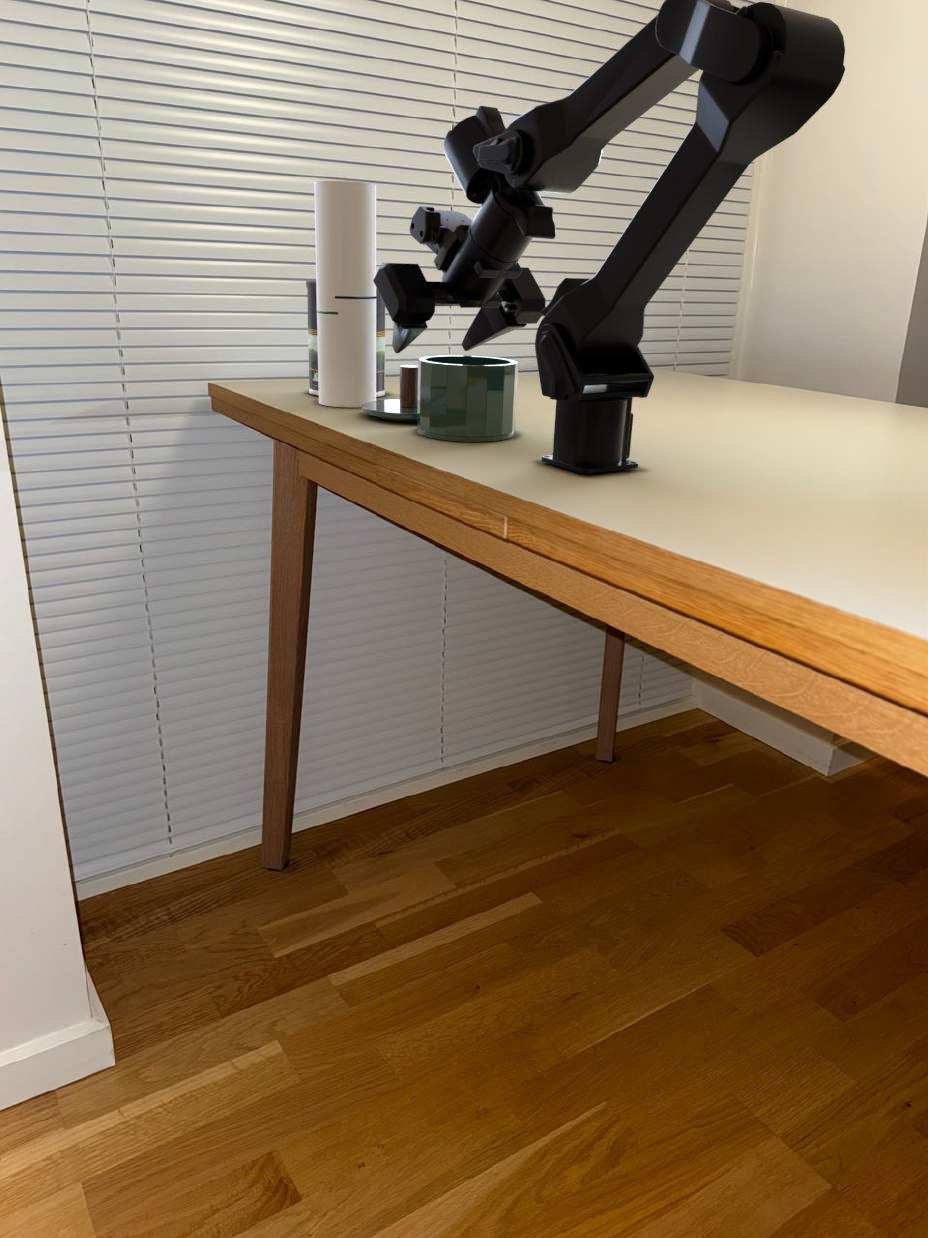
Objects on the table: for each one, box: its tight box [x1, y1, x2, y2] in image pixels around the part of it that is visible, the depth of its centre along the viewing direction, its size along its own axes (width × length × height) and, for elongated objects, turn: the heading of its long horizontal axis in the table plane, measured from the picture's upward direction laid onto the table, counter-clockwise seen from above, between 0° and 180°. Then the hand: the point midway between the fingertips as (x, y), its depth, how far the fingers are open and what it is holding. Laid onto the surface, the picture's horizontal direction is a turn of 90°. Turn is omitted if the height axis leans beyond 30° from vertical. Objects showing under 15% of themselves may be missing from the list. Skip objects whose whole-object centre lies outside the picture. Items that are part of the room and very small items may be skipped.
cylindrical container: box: [313, 180, 377, 408], centre depth 112 cm, size 7×7×25 cm
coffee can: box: [305, 279, 386, 398], centre depth 122 cm, size 10×10×14 cm
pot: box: [416, 355, 519, 443], centre depth 98 cm, size 10×10×8 cm
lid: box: [360, 364, 418, 423], centre depth 107 cm, size 11×11×6 cm
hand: (430, 348), depth 102 cm, fingers open, 9 cm apart
